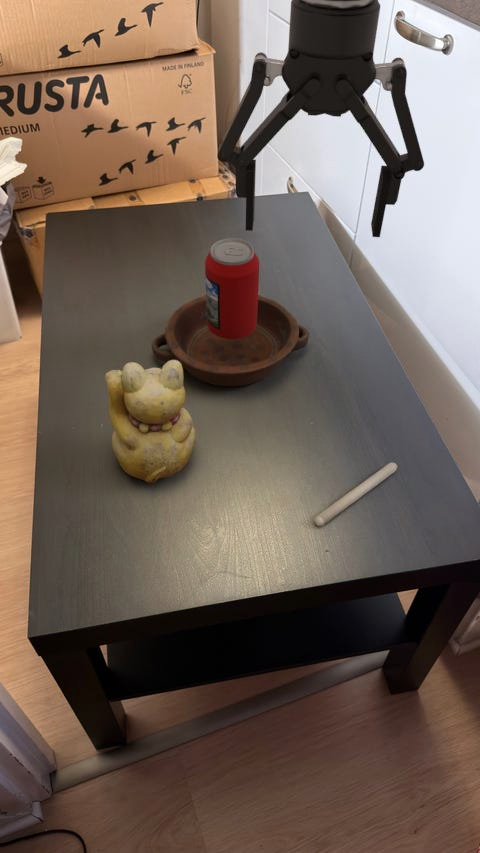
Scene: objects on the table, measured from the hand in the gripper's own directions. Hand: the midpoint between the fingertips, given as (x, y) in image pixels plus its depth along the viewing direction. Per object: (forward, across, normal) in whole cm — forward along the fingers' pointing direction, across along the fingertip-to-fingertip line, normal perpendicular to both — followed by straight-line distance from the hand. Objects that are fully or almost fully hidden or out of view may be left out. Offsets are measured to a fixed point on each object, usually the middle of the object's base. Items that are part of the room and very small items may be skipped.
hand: (312, 227), depth 68 cm
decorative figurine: (+23, +16, +16) cm, 33 cm away
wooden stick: (+23, -7, +18) cm, 31 cm away
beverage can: (+18, +9, -5) cm, 21 cm away
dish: (+23, +9, -5) cm, 25 cm away
